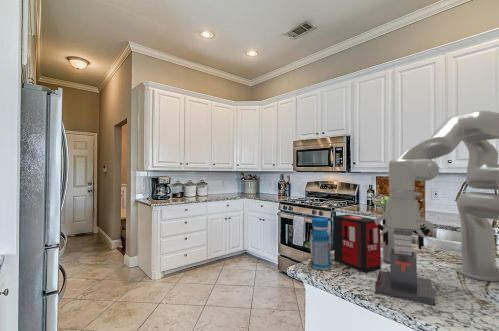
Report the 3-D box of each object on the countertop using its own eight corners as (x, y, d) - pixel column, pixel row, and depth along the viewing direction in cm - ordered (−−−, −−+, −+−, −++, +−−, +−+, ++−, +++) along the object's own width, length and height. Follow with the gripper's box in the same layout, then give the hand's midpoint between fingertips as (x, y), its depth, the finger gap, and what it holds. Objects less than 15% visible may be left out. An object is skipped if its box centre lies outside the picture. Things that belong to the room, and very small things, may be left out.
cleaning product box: (380, 269, 104) (379, 219, 105) (366, 273, 100) (365, 221, 101) (348, 257, 119) (347, 214, 119) (334, 260, 115) (333, 215, 115)
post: (412, 280, 87) (411, 230, 88) (413, 286, 83) (411, 233, 83) (395, 277, 90) (394, 228, 91) (394, 282, 86) (393, 231, 86)
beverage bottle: (319, 271, 102) (318, 221, 102) (306, 264, 109) (305, 217, 110) (335, 268, 105) (334, 219, 106) (322, 262, 113) (321, 216, 113)
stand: (431, 285, 89) (430, 250, 89) (435, 305, 75) (434, 264, 76) (379, 275, 97) (379, 244, 98) (375, 292, 84) (374, 255, 84)
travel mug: (402, 264, 109) (401, 217, 110) (385, 263, 110) (384, 217, 111) (397, 259, 115) (396, 215, 116) (381, 259, 116) (380, 214, 117)
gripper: (431, 195, 86) (433, 247, 85) (374, 193, 95) (375, 240, 95) (433, 197, 80) (435, 253, 79) (372, 195, 89) (373, 245, 88)
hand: (402, 246), depth 87 cm, fingers open, 9 cm apart
